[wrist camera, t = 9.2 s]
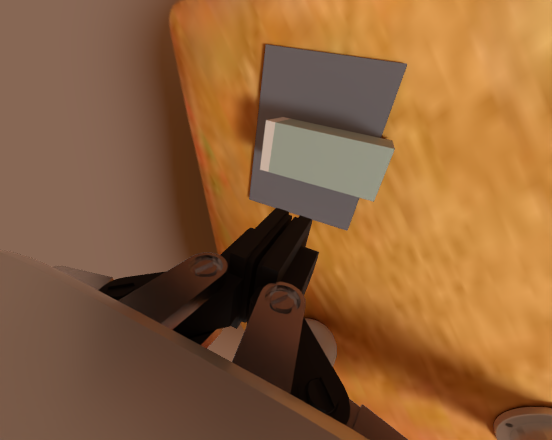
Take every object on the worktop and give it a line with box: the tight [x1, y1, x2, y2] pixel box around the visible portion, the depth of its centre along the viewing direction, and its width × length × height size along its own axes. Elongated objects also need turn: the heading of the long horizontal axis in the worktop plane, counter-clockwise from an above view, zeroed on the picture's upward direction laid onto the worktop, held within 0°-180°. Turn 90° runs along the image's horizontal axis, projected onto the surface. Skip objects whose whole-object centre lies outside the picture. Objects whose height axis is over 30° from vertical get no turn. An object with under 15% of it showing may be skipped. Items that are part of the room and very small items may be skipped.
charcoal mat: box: [249, 45, 407, 230], centre depth 28 cm, size 14×18×1 cm
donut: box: [305, 318, 337, 367], centre depth 36 cm, size 10×4×10 cm, turn 101°
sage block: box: [260, 117, 395, 202], centre depth 25 cm, size 5×5×12 cm
